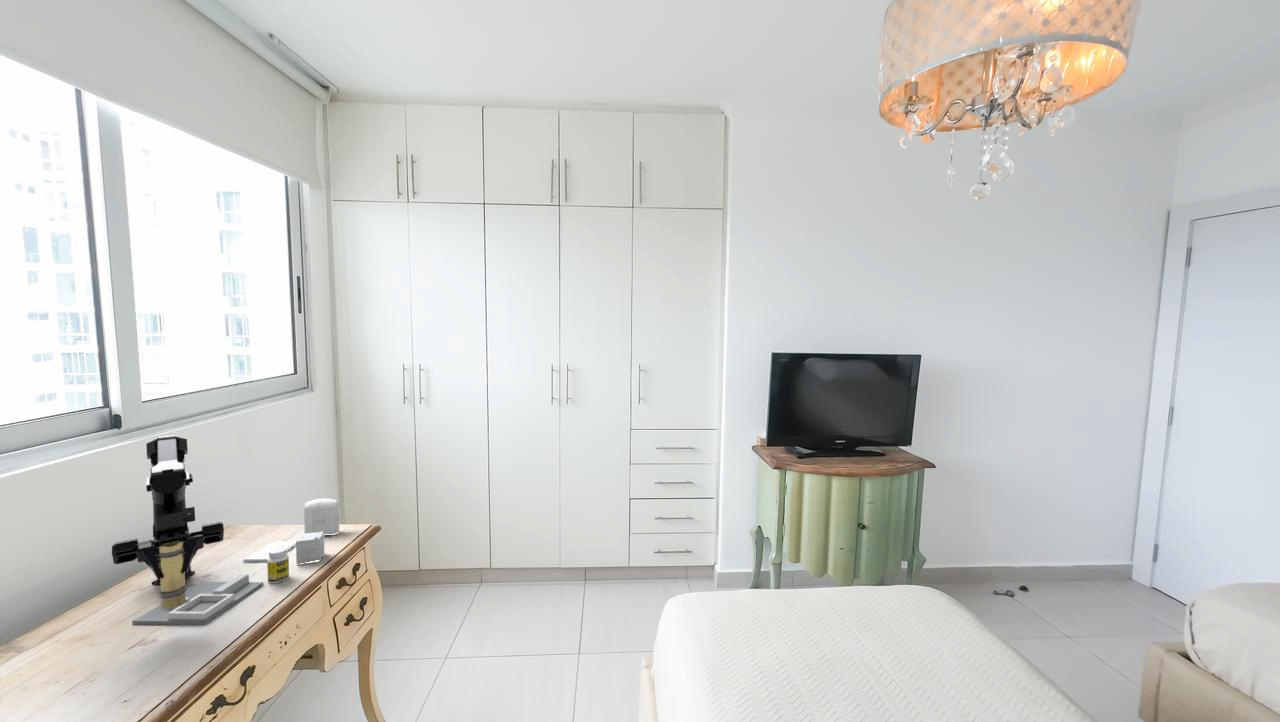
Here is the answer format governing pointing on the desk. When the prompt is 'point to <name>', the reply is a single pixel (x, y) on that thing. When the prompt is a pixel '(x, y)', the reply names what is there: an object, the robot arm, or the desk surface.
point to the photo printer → (321, 516)
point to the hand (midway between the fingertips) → (172, 576)
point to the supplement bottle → (278, 565)
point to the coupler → (172, 574)
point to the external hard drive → (264, 552)
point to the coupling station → (202, 602)
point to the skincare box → (309, 547)
